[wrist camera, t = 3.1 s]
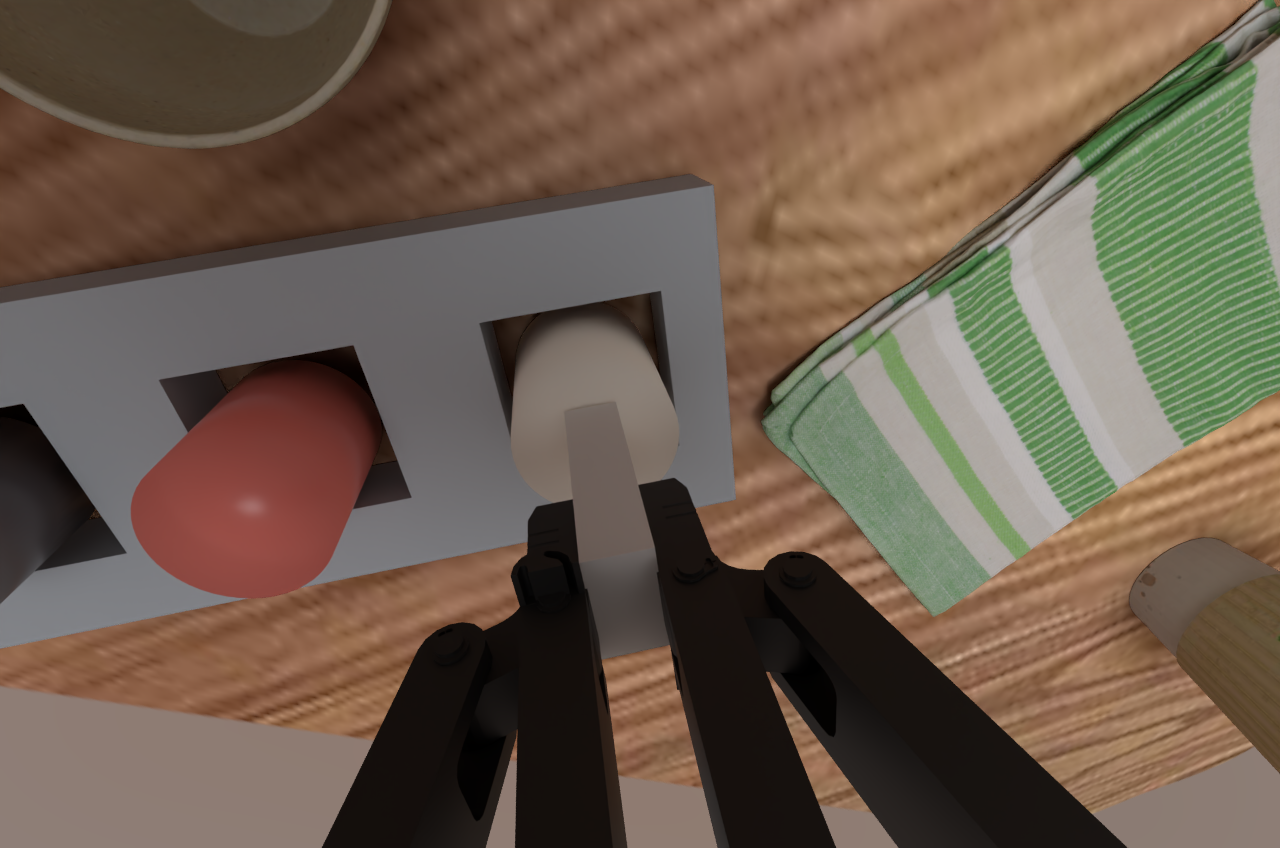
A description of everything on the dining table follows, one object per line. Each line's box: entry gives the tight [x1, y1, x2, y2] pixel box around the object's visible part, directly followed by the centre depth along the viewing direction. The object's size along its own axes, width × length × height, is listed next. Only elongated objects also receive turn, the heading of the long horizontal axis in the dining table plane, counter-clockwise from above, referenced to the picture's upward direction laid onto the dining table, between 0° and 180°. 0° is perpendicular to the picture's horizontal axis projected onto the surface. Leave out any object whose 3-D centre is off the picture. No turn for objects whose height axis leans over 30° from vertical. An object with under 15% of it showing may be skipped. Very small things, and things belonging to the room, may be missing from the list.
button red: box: [131, 360, 382, 598], centre depth 20 cm, size 5×5×6 cm
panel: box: [0, 174, 736, 648], centre depth 22 cm, size 12×30×3 cm, turn 98°
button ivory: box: [511, 302, 679, 503], centre depth 21 cm, size 5×5×6 cm
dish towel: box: [761, 0, 1280, 617], centre depth 27 cm, size 18×23×3 cm
